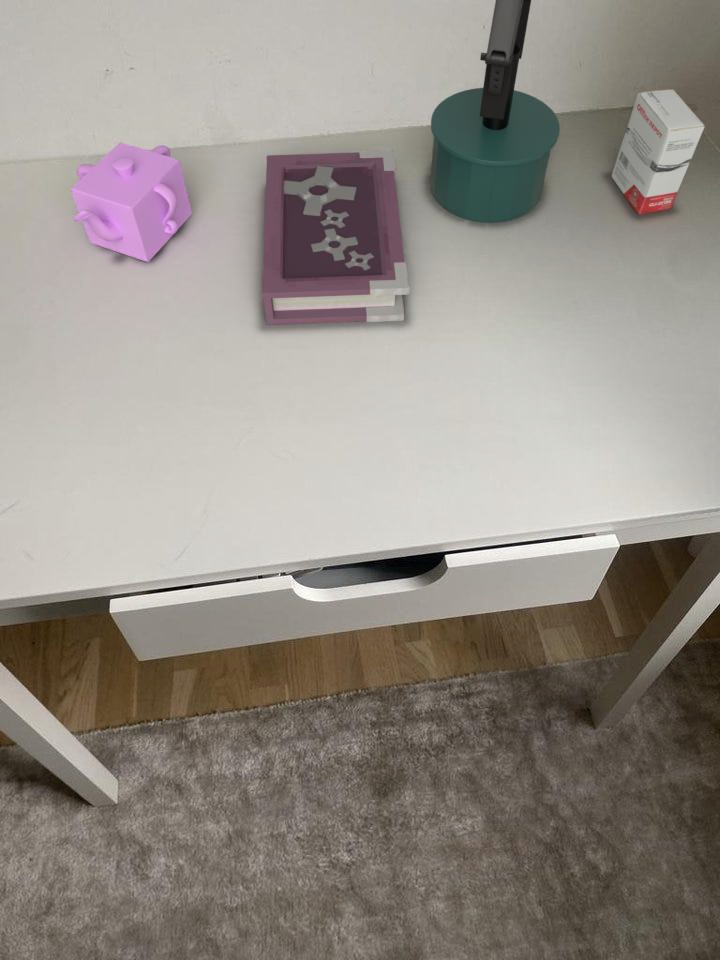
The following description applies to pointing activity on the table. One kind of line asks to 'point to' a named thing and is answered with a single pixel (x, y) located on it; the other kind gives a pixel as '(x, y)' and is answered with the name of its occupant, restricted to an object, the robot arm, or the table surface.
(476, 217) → the tin
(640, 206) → the ink box
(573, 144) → the table surface
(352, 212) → the book
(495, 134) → the lid
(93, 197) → the teapot
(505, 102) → the robot arm
